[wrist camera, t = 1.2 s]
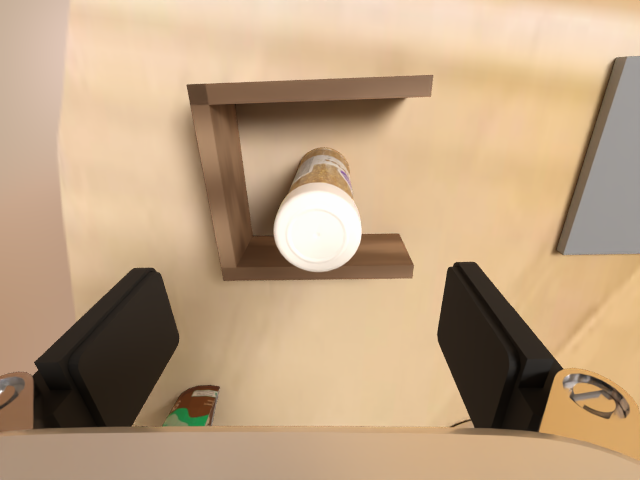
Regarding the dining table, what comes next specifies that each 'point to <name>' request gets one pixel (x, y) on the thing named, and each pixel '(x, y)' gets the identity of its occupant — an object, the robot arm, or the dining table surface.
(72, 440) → the robot arm
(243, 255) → the shelf box
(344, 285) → the dining table surface
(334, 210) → the spice jar
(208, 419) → the food container
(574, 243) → the slate mat
